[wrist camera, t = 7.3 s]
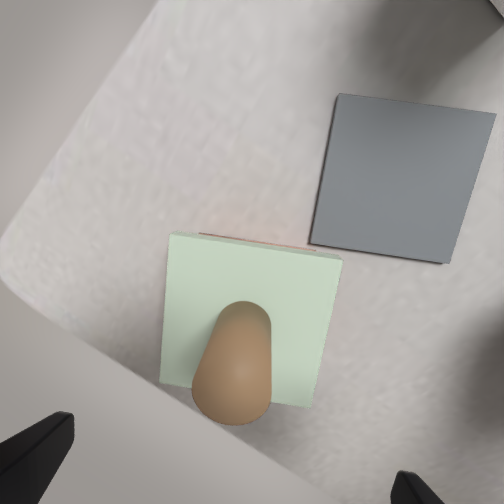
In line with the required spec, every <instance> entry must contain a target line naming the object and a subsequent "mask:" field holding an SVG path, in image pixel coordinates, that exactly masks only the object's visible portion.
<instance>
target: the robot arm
mask: <svg viewBox="0 0 504 504" xmlns="http://www.w3.org/2000/svg"><path fill="white" fill-rule="evenodd" d="M73 441H74V415H73V414H72V413H68V412H62V411H59V412H56V413H54V414H52V415H50V416H48V417H46V418H45V419H43V420H41V421H39V422H38V423H36V424H34V425H32V426H31V427H28V428H27V429H25V430H23V431H21V432H19V433H18V434H16V435H14V436H12V437H10V438H9V439H7V440H5V441H3V442H1V443H0V504H38V503H39V501H40V499H41V497H42V496H43V494H44V492H45V491H46V489H47V487H48V485H49V484H50V482H51V480H52V479H53V477H54V475H55V474H56V472H57V470H58V468H59V466H60V465H61V463H62V461H63V460H64V458H65V456H66V455H67V453H68V451H69V450H70V448H71V446H72V444H73ZM390 497H391V504H445V503H444V502H443V501H442V500H441V499H440V498H439V497H438V496H437V495H436V494H435V493H434V492H433V491H432V490H431V489H430V488H429V487H428V485H427V484H426V483H425V482H424V481H423V480H422V479H421V478H420V477H419V476H418V475H417V474H415V473H413V472H408V471H403V470H400V471H399V472H398V473H397V475H396V478H395V481H394V484H393V487H392V490H391V496H390Z"/></svg>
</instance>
